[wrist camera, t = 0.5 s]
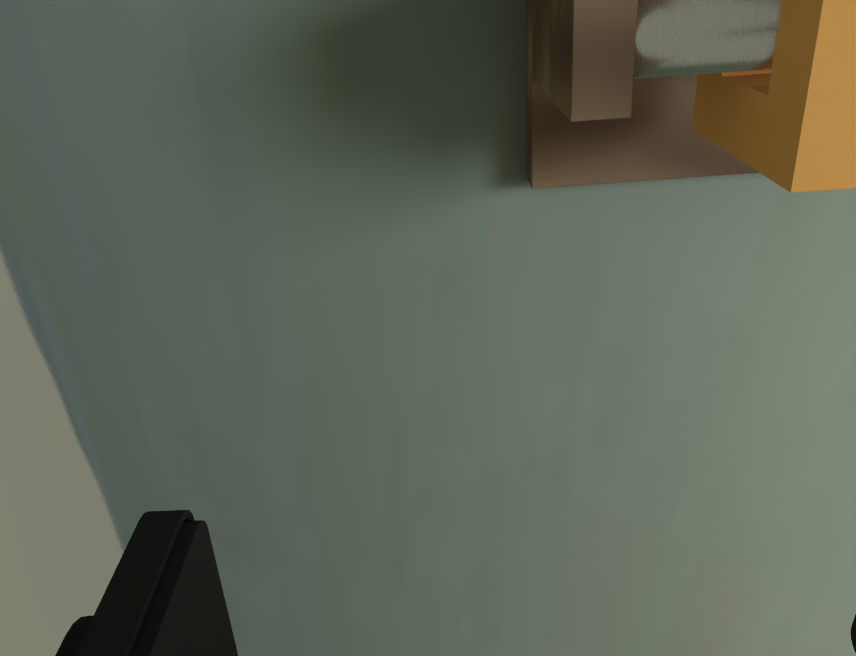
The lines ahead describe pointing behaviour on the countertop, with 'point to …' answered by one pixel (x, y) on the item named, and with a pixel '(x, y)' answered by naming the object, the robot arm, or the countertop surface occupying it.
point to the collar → (792, 101)
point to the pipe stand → (633, 85)
